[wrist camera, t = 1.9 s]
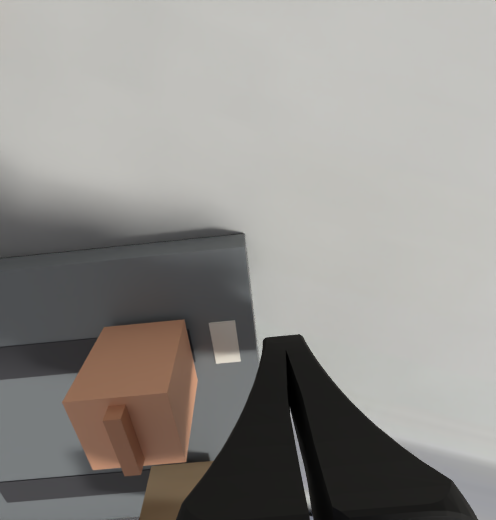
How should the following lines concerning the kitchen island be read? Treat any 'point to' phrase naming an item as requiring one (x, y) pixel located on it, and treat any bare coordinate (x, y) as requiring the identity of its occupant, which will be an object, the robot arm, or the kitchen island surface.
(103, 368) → the terracotta knob
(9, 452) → the panel
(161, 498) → the oak knob
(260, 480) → the robot arm
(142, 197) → the kitchen island surface
